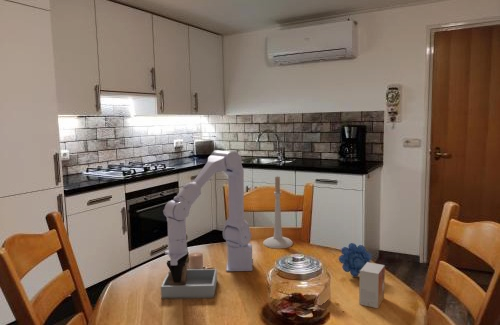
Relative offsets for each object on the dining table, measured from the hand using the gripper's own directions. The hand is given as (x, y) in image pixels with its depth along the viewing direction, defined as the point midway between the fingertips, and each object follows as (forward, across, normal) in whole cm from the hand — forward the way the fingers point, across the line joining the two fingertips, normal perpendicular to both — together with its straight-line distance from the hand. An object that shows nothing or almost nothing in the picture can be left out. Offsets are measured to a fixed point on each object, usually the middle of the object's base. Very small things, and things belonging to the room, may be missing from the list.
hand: (178, 278), depth 127 cm
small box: (+4, +10, +60) cm, 61 cm away
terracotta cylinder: (+4, -12, +4) cm, 14 cm away
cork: (+4, -26, -4) cm, 26 cm away
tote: (+4, 0, +4) cm, 5 cm away
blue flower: (+4, -6, +60) cm, 60 cm away
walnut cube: (+2, 0, 0) cm, 2 cm away
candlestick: (+4, -44, +36) cm, 56 cm away
